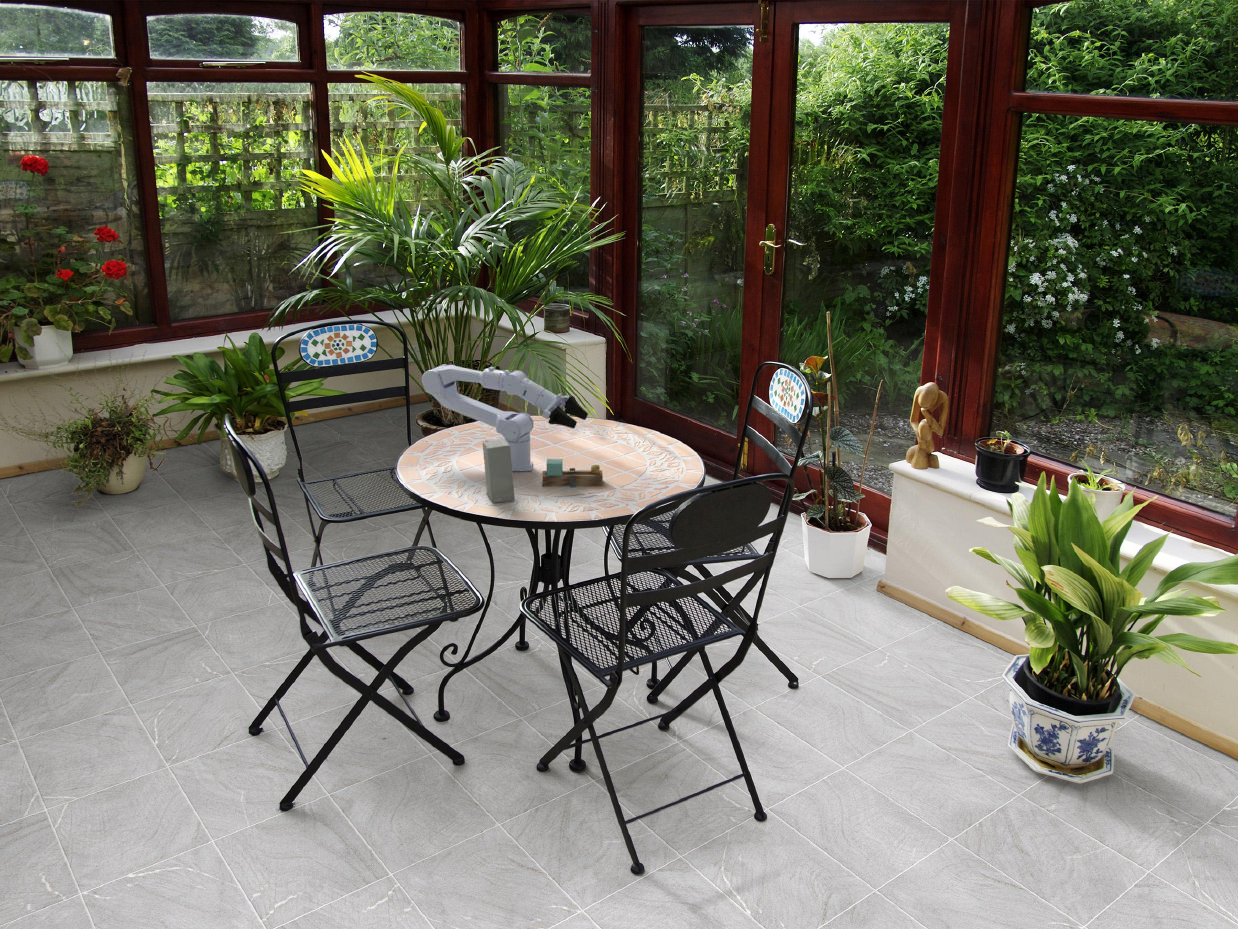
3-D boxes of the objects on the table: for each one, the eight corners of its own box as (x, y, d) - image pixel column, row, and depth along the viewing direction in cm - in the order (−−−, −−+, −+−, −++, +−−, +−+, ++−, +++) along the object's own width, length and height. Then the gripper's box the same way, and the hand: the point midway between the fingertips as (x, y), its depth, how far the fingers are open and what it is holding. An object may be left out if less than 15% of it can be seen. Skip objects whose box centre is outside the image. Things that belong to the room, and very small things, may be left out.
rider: (546, 480, 311) (546, 463, 309) (547, 475, 315) (546, 458, 313) (562, 480, 311) (562, 463, 309) (562, 475, 315) (562, 458, 313)
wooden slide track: (542, 487, 310) (541, 470, 308) (542, 479, 316) (542, 462, 315) (602, 486, 311) (602, 469, 309) (602, 479, 317) (602, 462, 315)
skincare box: (515, 501, 299) (513, 445, 294) (488, 504, 297) (487, 447, 292) (509, 491, 307) (507, 436, 302) (483, 493, 305) (481, 438, 300)
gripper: (534, 394, 309) (575, 417, 307) (556, 379, 321) (596, 401, 319) (526, 414, 312) (566, 438, 310) (548, 398, 325) (587, 421, 322)
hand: (581, 421), depth 315 cm, fingers open, 7 cm apart
